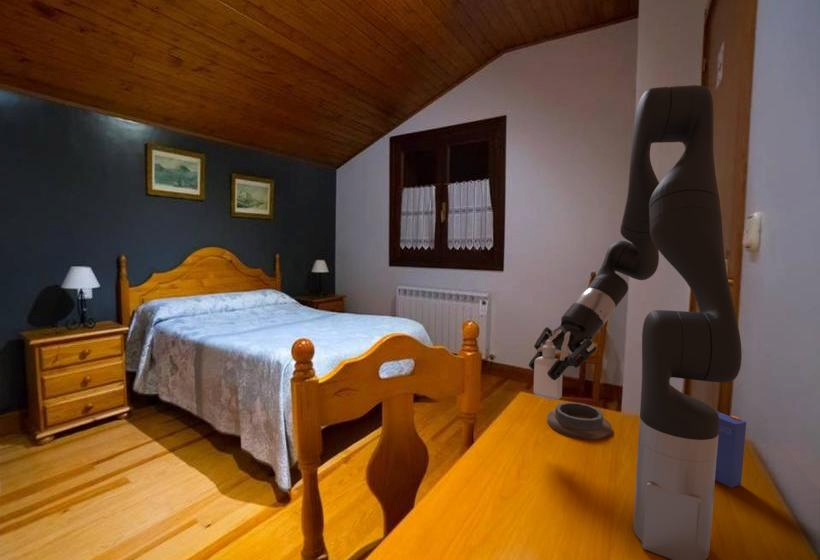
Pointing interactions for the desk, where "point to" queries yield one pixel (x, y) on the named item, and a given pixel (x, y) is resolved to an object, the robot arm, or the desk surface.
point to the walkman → (730, 450)
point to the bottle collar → (579, 421)
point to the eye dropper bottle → (546, 375)
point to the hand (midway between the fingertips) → (541, 372)
